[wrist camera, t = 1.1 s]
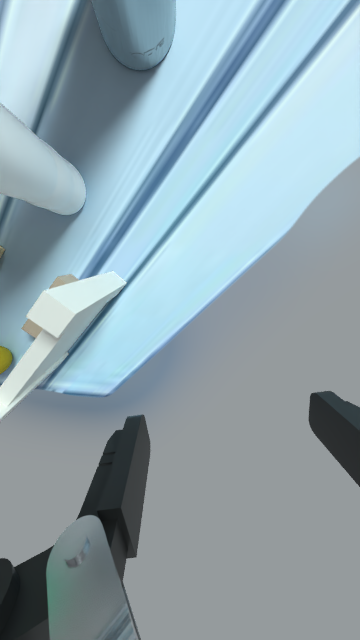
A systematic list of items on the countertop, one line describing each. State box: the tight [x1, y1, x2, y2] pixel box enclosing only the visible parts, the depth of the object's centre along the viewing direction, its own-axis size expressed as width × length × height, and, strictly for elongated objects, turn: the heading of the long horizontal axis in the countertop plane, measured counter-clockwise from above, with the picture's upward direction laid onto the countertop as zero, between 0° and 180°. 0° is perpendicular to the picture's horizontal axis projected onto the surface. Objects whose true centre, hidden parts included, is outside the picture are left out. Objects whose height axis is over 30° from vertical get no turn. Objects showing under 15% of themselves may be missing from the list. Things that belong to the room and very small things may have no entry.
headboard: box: [0, 271, 127, 422], centre depth 26 cm, size 8×22×18 cm, turn 138°
